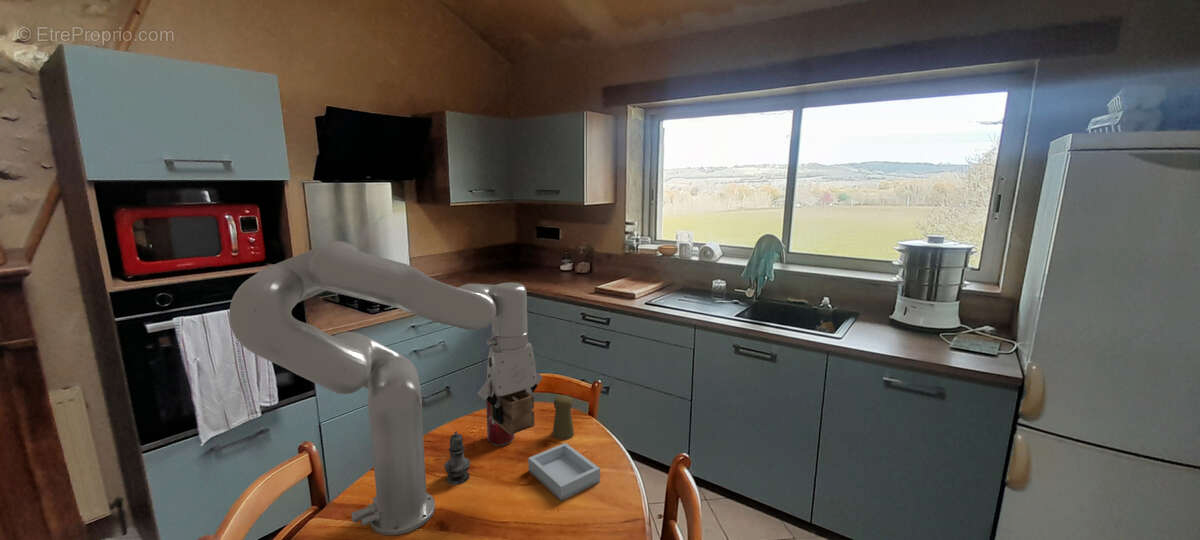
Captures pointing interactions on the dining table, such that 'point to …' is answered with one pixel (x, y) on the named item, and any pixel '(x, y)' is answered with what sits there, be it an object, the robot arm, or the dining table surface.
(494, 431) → the soda can
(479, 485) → the dining table surface
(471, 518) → the dining table surface
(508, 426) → the walnut crate
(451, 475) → the dark grey chess piece
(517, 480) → the dining table surface
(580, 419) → the dining table surface
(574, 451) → the grey crate
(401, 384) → the robot arm
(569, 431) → the cork
